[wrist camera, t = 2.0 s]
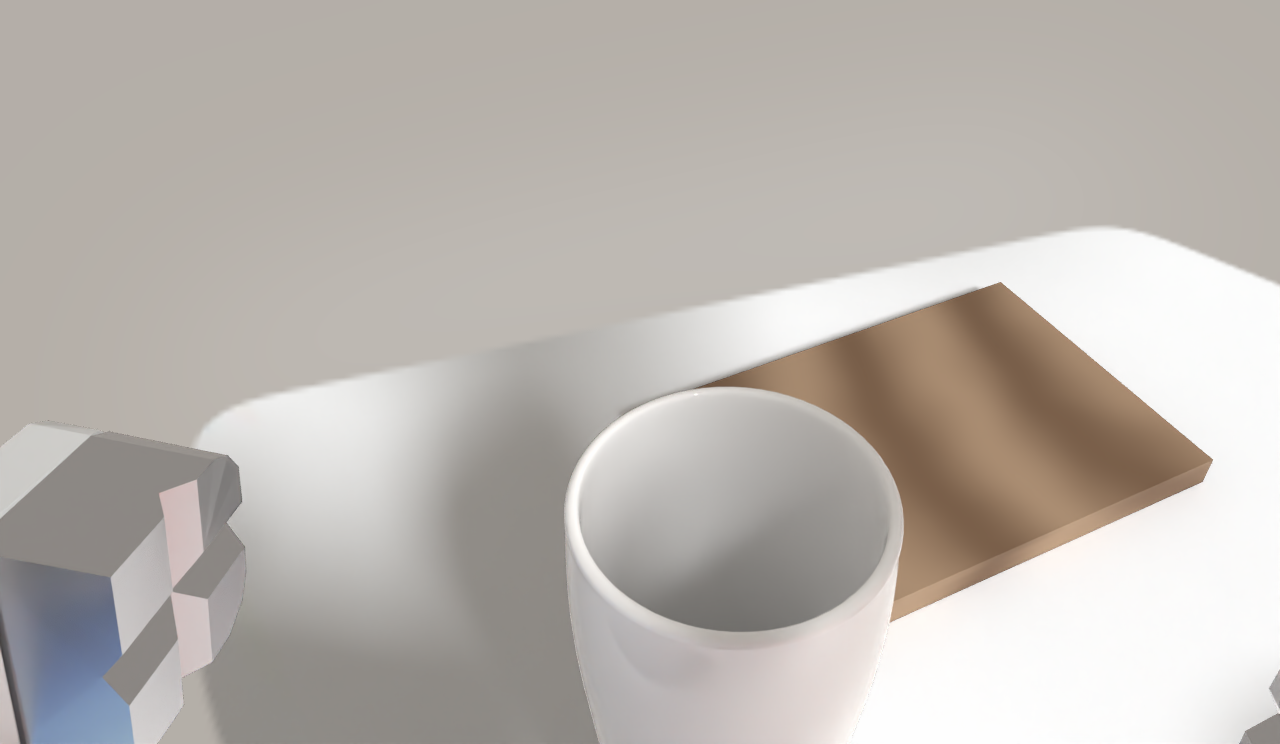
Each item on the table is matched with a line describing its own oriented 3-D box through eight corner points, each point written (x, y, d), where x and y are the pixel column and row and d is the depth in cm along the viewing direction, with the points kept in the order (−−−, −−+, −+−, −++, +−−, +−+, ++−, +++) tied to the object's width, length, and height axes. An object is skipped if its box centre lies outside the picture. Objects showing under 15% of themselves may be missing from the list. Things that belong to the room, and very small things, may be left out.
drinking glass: (594, 740, 34) (560, 387, 24) (812, 729, 34) (871, 373, 24) (597, 977, 29) (556, 657, 19) (853, 963, 29) (949, 637, 19)
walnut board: (995, 303, 49) (1000, 282, 48) (1202, 481, 41) (1213, 459, 40) (633, 431, 44) (632, 410, 43) (790, 666, 36) (793, 645, 35)
